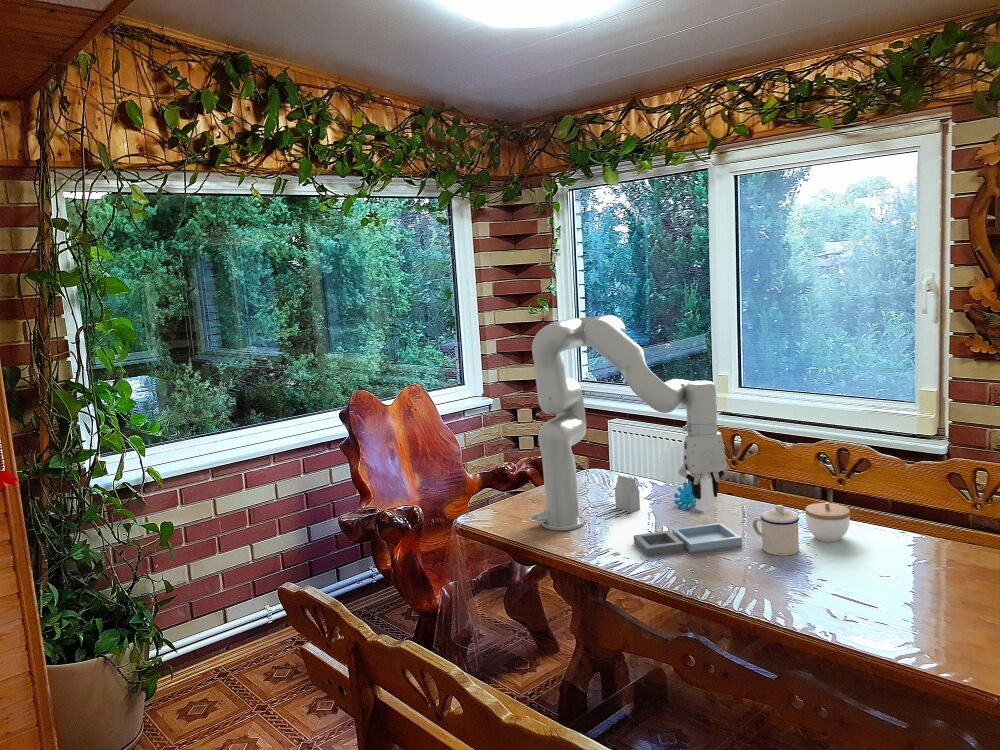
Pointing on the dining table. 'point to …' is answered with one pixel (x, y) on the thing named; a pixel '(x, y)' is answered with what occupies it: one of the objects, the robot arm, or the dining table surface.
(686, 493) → the blue spiky cluster
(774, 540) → the teacup with lid
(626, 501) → the grey upright wedge block
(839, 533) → the lidded jar
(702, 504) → the pepper shaker
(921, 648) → the dining table surface
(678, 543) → the socket block
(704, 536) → the parts tray
